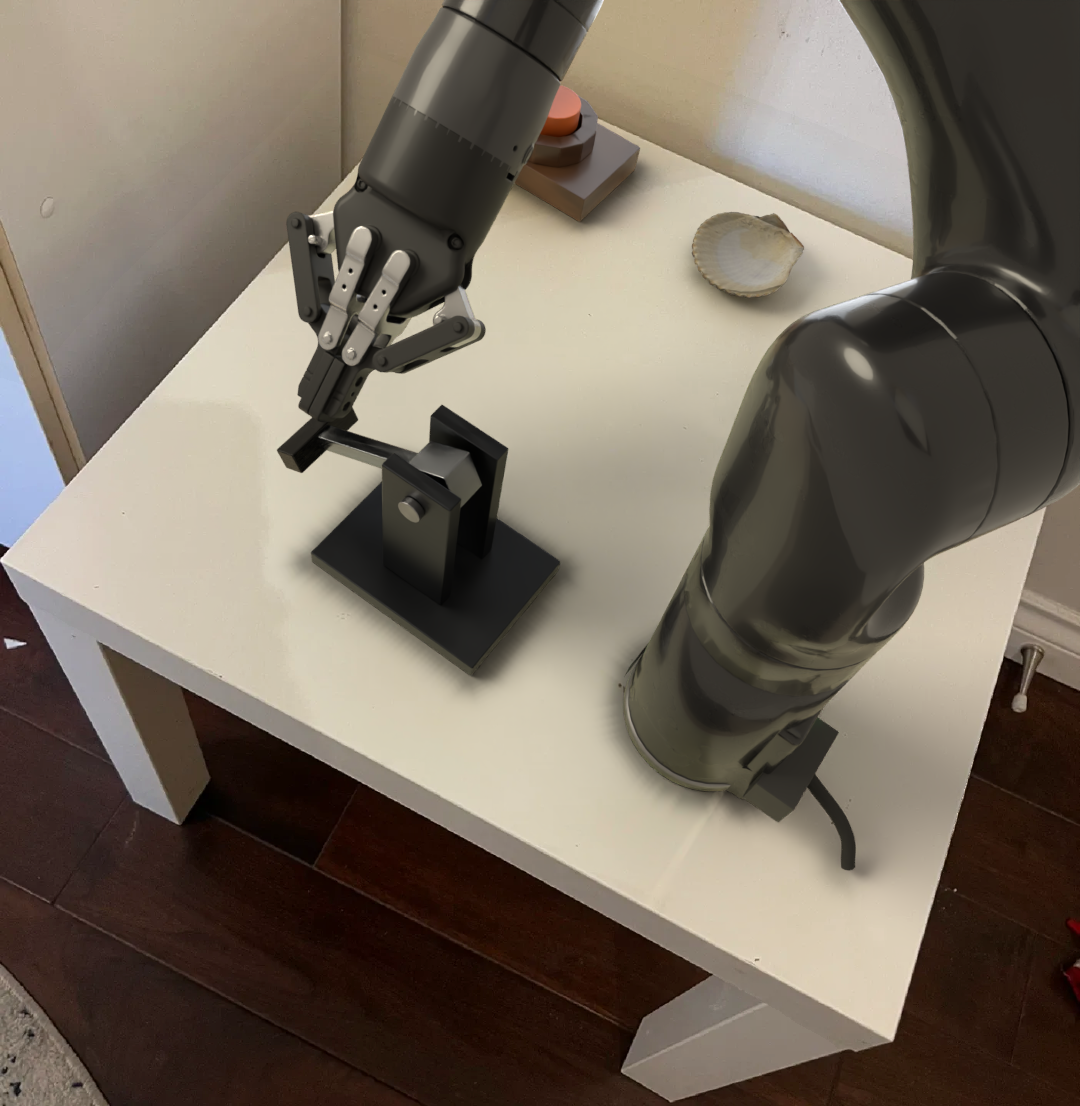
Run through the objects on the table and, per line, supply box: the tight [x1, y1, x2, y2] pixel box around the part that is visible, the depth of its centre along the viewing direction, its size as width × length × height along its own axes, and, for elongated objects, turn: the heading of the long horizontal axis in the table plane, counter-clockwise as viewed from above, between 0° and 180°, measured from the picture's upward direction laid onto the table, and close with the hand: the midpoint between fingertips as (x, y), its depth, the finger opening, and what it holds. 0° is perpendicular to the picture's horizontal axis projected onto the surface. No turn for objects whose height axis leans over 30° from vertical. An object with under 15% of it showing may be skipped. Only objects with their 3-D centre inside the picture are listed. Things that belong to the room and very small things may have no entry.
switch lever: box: [276, 406, 482, 508], centre depth 57 cm, size 12×5×2 cm, turn 55°
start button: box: [540, 85, 581, 137], centre depth 79 cm, size 4×4×2 cm
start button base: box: [514, 95, 641, 223], centre depth 81 cm, size 12×8×4 cm, turn 55°
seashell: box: [691, 211, 805, 299], centre depth 78 cm, size 8×3×8 cm
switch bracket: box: [310, 404, 562, 677], centre depth 58 cm, size 12×9×12 cm
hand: (316, 415), depth 59 cm, fingers closed
